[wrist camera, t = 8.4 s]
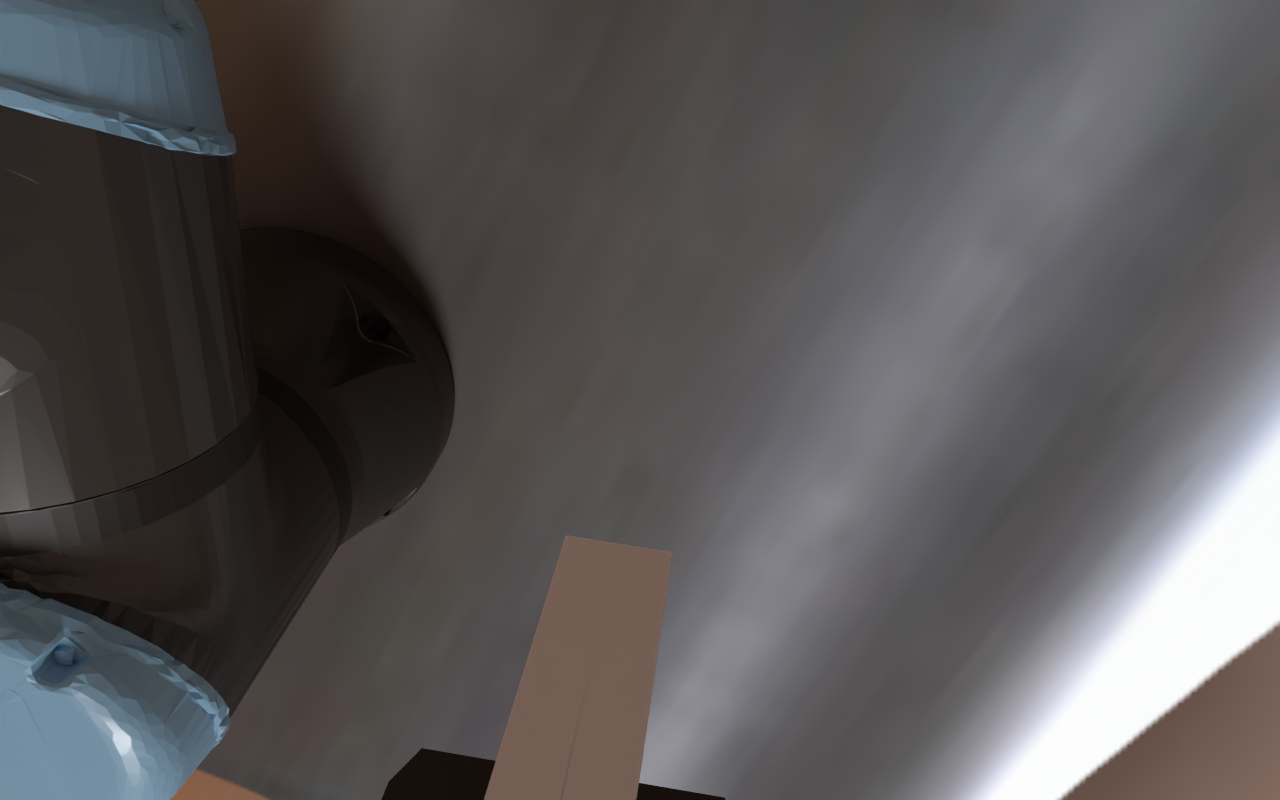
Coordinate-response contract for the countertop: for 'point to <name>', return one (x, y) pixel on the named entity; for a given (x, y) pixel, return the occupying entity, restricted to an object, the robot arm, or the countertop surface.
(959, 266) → the countertop surface
